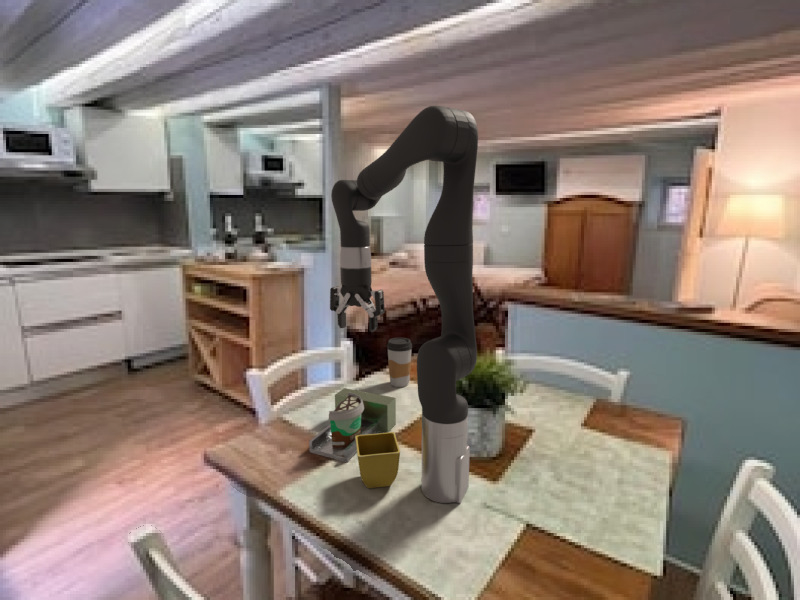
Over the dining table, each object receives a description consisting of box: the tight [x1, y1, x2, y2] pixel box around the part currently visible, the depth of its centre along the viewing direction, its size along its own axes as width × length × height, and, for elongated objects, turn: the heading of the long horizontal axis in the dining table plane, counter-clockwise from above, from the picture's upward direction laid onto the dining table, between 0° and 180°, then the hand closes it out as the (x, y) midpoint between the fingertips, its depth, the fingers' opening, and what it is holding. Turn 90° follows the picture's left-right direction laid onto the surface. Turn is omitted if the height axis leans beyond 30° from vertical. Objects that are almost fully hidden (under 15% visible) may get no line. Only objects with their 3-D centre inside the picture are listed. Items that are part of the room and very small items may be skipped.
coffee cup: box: [386, 337, 413, 388], centre depth 147 cm, size 8×8×15 cm
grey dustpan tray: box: [308, 387, 397, 463], centre depth 114 cm, size 16×21×8 cm
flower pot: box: [355, 431, 401, 489], centre depth 95 cm, size 9×9×9 cm
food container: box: [328, 392, 364, 448], centre depth 110 cm, size 12×6×10 cm, turn 163°
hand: (357, 329), depth 111 cm, fingers open, 8 cm apart
